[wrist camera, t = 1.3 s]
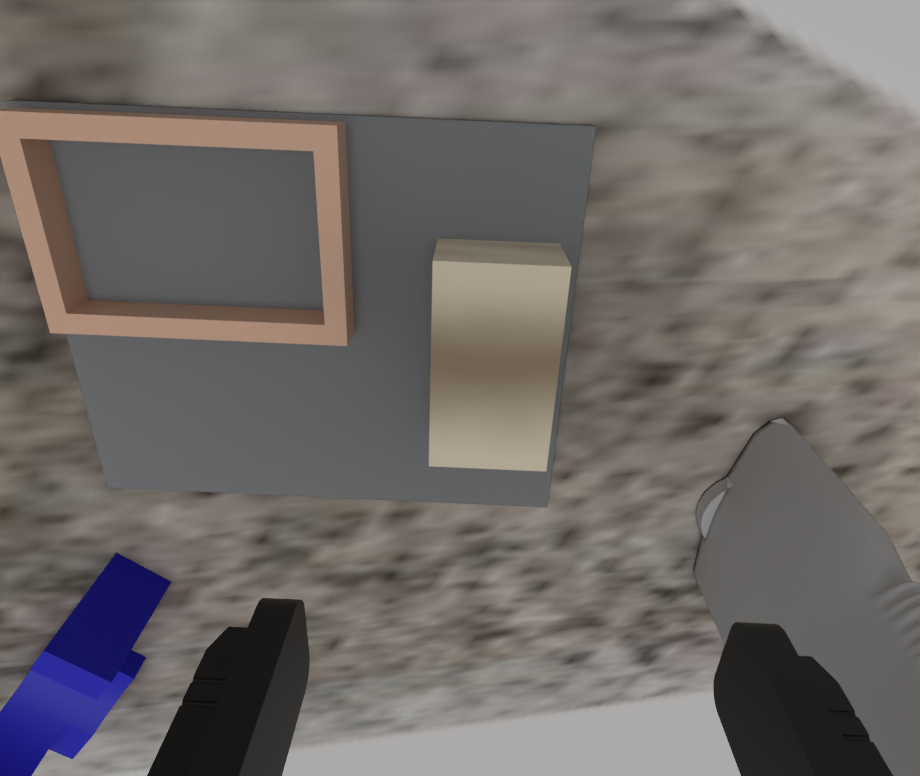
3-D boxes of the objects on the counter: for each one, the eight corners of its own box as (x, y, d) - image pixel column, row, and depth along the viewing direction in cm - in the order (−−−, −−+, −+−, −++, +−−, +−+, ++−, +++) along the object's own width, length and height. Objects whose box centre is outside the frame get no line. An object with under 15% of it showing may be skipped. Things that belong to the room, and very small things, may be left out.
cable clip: (101, 708, 37) (38, 818, 31) (27, 675, 35) (-52, 782, 30) (198, 593, 32) (144, 697, 27) (118, 550, 31) (43, 650, 26)
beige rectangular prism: (539, 431, 26) (546, 471, 24) (433, 426, 26) (428, 466, 24) (560, 243, 23) (571, 266, 20) (437, 238, 23) (432, 260, 20)
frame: (73, 318, 25) (50, 332, 23) (18, 107, 21) (-13, 110, 20) (354, 330, 24) (347, 346, 23) (345, 122, 21) (336, 125, 20)
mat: (113, 481, 29) (107, 487, 28) (13, 99, 21) (3, 100, 21) (546, 500, 29) (547, 507, 28) (593, 125, 21) (595, 126, 21)
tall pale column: (741, 597, 31) (1190, 1486, 12) (662, 586, 31) (984, 1474, 11) (832, 416, 26) (1860, 1414, 7) (739, 402, 26) (1524, 1391, 7)
